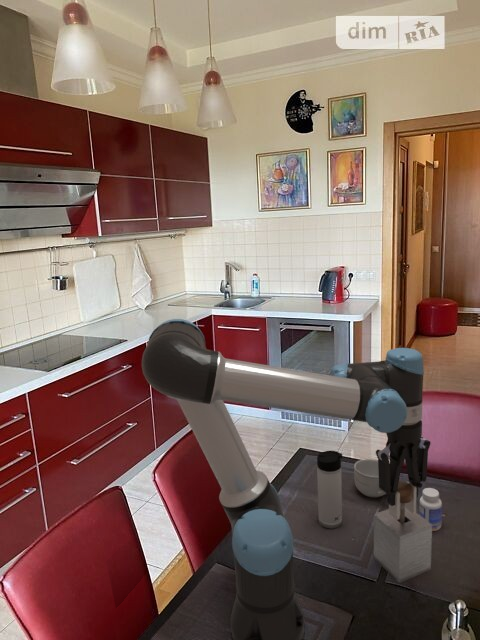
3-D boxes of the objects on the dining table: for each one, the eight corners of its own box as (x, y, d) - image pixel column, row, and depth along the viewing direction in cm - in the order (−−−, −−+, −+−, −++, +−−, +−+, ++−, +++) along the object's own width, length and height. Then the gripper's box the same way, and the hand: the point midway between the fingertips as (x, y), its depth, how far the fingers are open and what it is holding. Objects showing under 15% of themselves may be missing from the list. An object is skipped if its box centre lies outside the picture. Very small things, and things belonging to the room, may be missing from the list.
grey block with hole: (399, 583, 110) (399, 536, 107) (367, 551, 120) (367, 508, 118) (430, 570, 113) (432, 524, 111) (397, 540, 124) (398, 498, 121)
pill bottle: (443, 522, 129) (445, 489, 127) (437, 534, 125) (439, 500, 123) (422, 516, 133) (423, 483, 130) (416, 527, 128) (417, 493, 126)
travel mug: (343, 529, 129) (342, 460, 125) (318, 528, 130) (316, 459, 126) (343, 515, 135) (342, 448, 130) (319, 513, 136) (317, 447, 132)
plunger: (400, 568, 111) (401, 497, 107) (381, 550, 117) (381, 482, 113) (423, 559, 114) (424, 489, 109) (403, 542, 119) (404, 475, 115)
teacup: (351, 481, 151) (351, 458, 149) (387, 480, 150) (387, 456, 148) (360, 509, 137) (360, 483, 135) (399, 508, 137) (400, 482, 135)
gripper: (383, 434, 101) (382, 533, 106) (447, 416, 107) (443, 511, 112) (361, 420, 108) (361, 514, 113) (422, 404, 114) (420, 494, 119)
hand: (402, 512), depth 113 cm, fingers closed on plunger, 4 cm apart
